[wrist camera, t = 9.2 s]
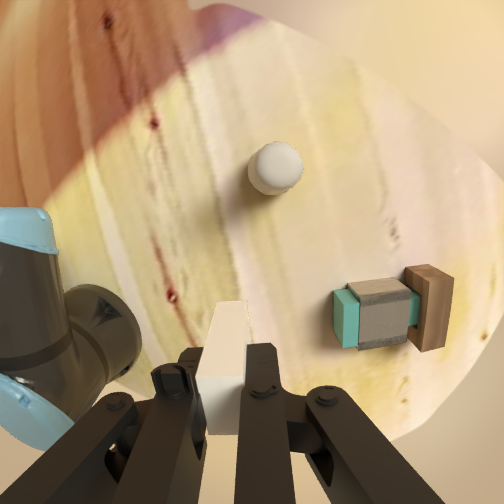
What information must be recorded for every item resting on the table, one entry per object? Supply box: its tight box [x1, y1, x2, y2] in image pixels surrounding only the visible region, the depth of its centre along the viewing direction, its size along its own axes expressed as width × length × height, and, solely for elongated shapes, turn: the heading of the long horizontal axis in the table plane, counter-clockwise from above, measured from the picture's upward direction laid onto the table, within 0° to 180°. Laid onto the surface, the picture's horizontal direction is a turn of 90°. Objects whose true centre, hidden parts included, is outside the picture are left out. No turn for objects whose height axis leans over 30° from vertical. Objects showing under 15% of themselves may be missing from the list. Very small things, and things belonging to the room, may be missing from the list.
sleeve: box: [348, 277, 411, 351], centre depth 39 cm, size 7×7×6 cm
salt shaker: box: [247, 141, 304, 195], centre depth 31 cm, size 6×6×13 cm
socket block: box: [405, 264, 454, 352], centre depth 38 cm, size 4×10×7 cm, turn 5°
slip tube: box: [333, 287, 420, 348], centre depth 39 cm, size 14×6×5 cm, turn 95°
